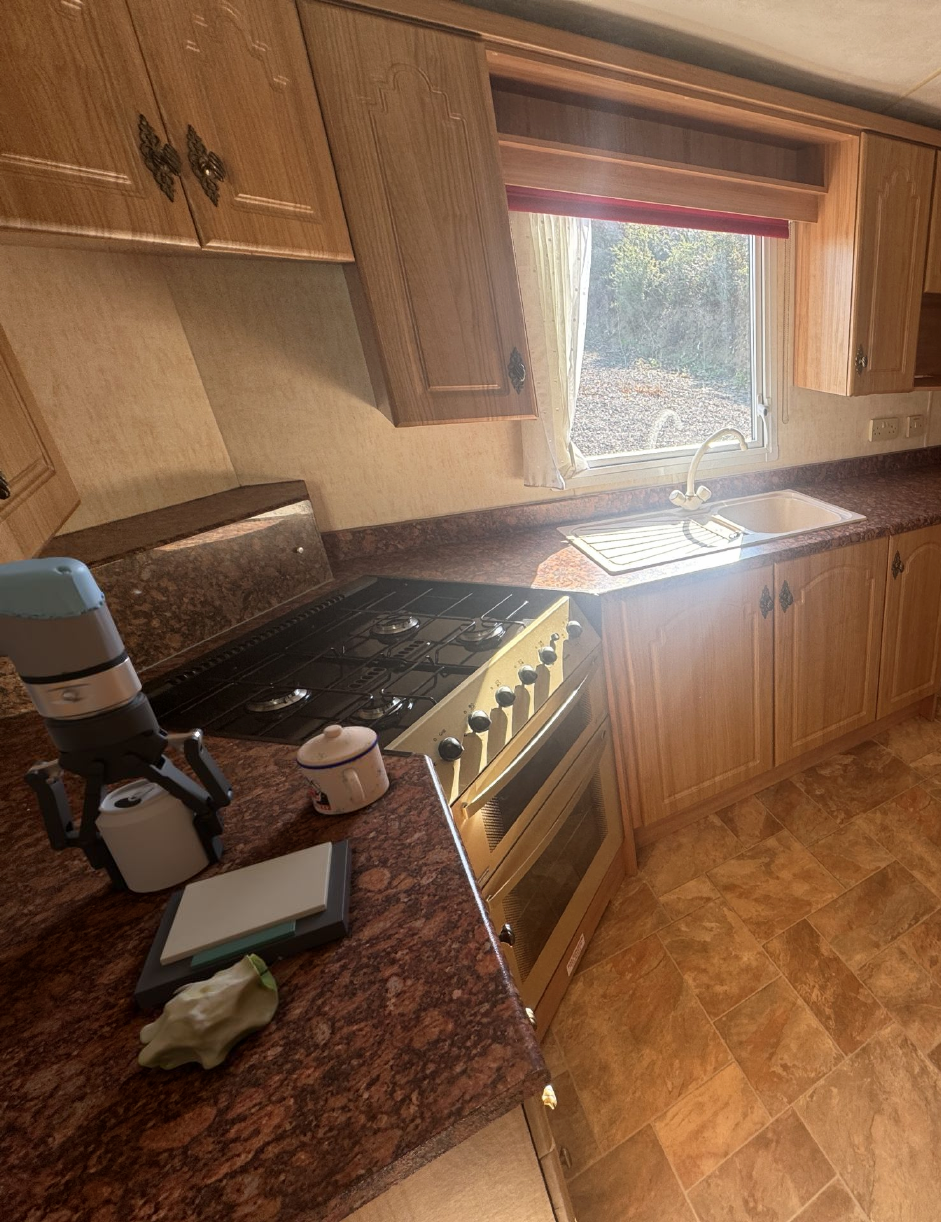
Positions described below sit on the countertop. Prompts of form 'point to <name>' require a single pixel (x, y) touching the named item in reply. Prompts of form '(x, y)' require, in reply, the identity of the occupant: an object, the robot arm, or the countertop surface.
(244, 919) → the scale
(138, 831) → the can
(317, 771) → the teacup with lid
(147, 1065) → the fruit
